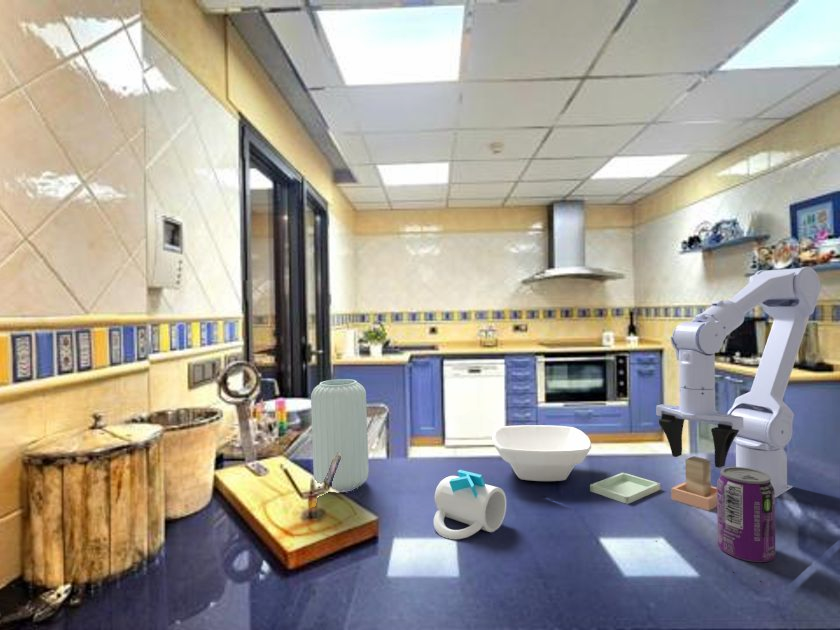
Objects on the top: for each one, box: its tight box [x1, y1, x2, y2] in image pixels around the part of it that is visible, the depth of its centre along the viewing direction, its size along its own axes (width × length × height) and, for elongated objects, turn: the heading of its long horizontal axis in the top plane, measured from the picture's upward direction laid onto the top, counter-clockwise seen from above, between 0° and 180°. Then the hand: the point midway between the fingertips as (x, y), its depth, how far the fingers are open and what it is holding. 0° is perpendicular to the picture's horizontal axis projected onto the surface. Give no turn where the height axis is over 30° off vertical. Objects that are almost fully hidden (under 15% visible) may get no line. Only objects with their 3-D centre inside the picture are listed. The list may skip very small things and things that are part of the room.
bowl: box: [491, 424, 592, 482], centre depth 107 cm, size 21×21×9 cm
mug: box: [433, 469, 507, 540], centre depth 85 cm, size 12×9×12 cm
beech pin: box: [685, 455, 712, 497], centre depth 91 cm, size 3×3×8 cm
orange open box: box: [670, 481, 717, 512], centre depth 91 cm, size 7×7×3 cm
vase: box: [310, 378, 370, 491], centre depth 104 cm, size 12×12×22 cm
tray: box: [589, 472, 661, 505], centre depth 96 cm, size 11×8×2 cm
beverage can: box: [716, 466, 776, 563], centre depth 72 cm, size 7×7×12 cm
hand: (697, 460), depth 90 cm, fingers open, 7 cm apart
